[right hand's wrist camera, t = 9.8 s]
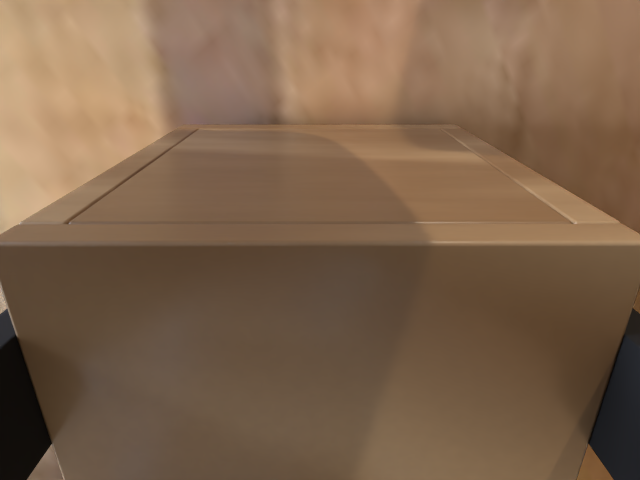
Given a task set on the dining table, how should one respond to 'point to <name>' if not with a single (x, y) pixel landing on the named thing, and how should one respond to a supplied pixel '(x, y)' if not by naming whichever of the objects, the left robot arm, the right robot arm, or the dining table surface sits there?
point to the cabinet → (320, 309)
